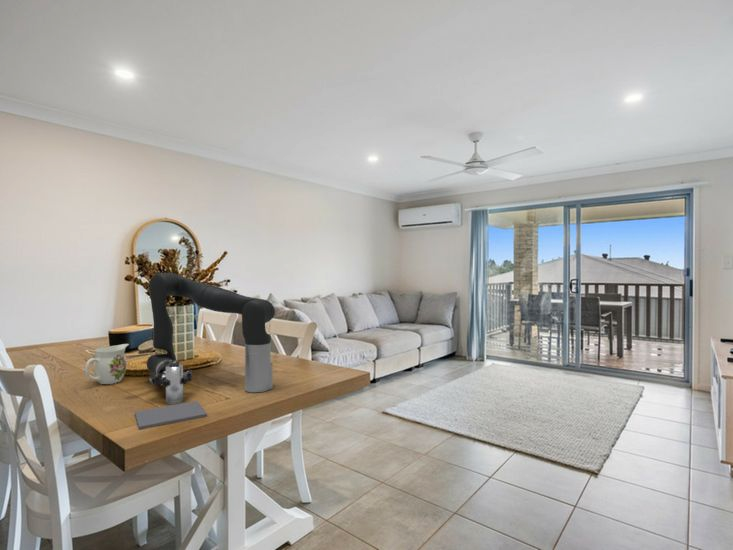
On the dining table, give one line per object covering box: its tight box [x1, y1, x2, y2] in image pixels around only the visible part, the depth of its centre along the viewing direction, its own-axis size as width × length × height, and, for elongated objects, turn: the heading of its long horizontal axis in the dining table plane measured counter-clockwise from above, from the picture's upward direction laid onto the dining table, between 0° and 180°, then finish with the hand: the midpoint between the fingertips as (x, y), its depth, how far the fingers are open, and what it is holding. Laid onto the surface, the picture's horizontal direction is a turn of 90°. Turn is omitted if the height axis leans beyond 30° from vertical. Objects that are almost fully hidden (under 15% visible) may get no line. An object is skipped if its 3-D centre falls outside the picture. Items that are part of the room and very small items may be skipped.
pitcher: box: [84, 343, 130, 385], centre depth 155 cm, size 11×18×14 cm, turn 162°
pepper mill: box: [165, 359, 184, 405], centre depth 134 cm, size 5×5×14 cm
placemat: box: [134, 400, 208, 430], centre depth 122 cm, size 18×14×1 cm
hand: (175, 382), depth 132 cm, fingers closed on pepper mill, 5 cm apart
